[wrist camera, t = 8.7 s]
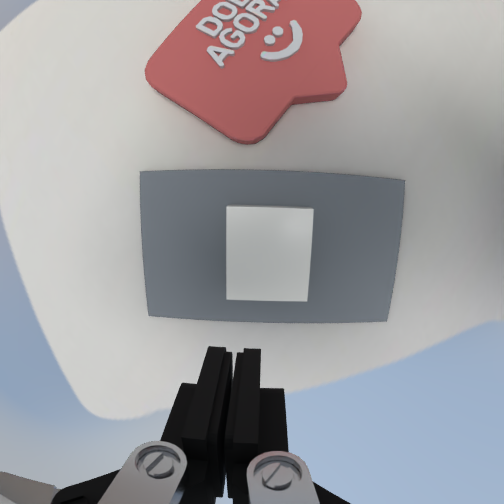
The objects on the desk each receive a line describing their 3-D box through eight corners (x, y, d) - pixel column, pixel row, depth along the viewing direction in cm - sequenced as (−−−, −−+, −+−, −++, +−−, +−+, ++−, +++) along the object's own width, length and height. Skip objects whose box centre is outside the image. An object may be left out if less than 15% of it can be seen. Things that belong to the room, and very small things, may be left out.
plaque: (280, 173, 23) (132, 75, 21) (278, 173, 26) (147, 86, 25) (397, 25, 19) (259, -55, 17) (383, 40, 22) (259, -34, 21)
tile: (313, 209, 24) (226, 206, 24) (307, 301, 26) (226, 299, 26) (310, 206, 26) (228, 204, 26) (304, 294, 28) (228, 292, 28)
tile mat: (402, 180, 26) (404, 180, 25) (385, 319, 29) (386, 321, 29) (141, 171, 26) (139, 171, 26) (150, 313, 30) (148, 315, 29)
